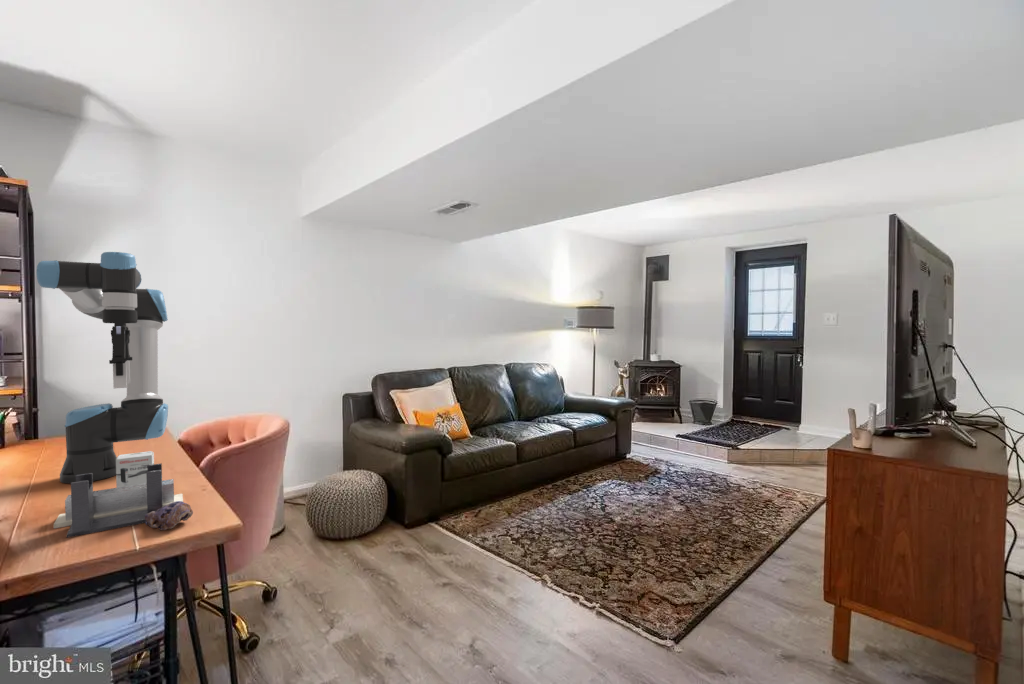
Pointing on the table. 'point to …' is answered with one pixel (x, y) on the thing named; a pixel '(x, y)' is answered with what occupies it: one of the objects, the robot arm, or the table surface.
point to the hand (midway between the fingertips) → (122, 385)
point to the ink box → (133, 468)
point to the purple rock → (169, 515)
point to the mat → (62, 517)
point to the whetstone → (122, 498)
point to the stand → (87, 524)
